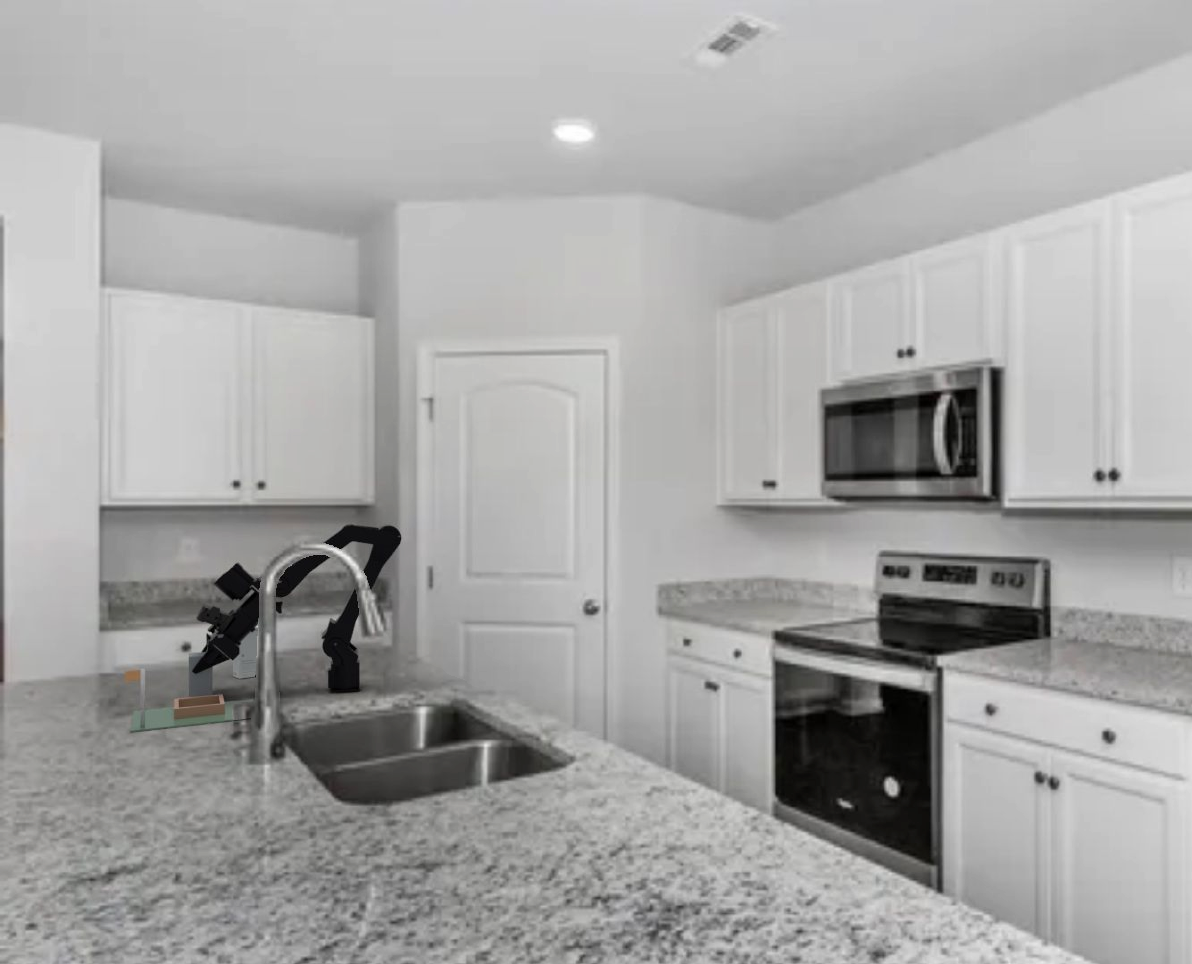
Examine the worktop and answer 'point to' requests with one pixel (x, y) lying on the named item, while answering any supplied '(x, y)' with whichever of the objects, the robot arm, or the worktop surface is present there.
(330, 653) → the robot arm
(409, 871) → the worktop surface
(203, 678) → the grey block
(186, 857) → the worktop surface
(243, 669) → the skincare box
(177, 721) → the green base plate
